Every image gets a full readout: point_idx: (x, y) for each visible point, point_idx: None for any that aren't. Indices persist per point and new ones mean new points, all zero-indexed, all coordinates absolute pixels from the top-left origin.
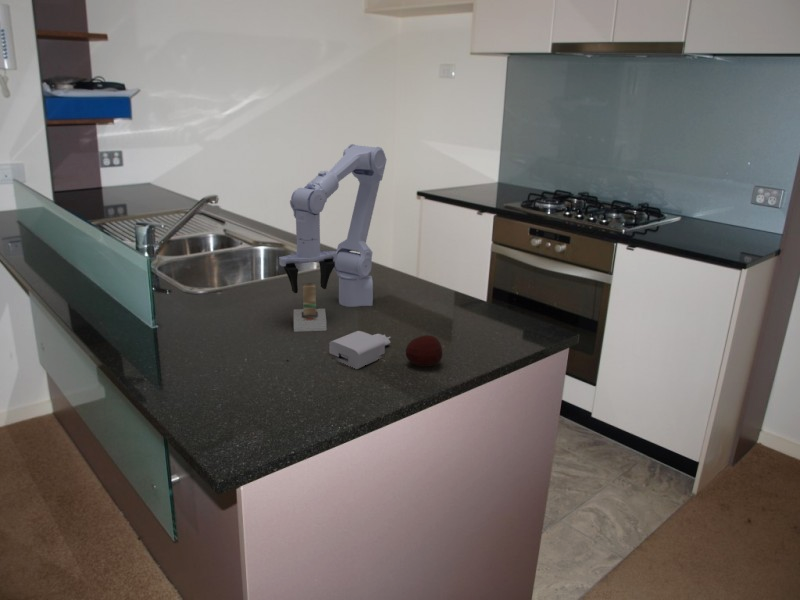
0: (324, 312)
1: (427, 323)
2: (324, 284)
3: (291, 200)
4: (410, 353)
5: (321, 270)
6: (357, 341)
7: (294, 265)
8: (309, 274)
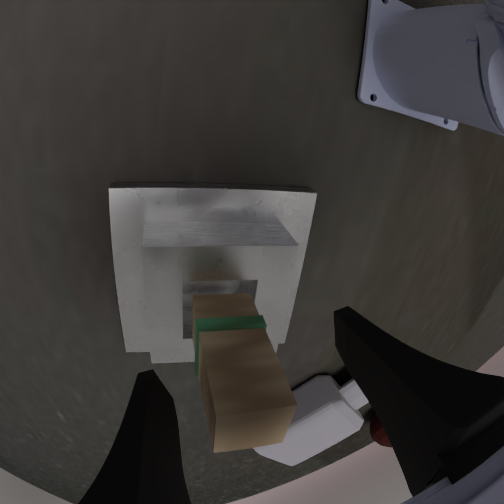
0: (286, 289)
1: (494, 248)
2: (351, 372)
3: None
4: (374, 440)
5: (399, 398)
6: (310, 446)
7: None
8: None
